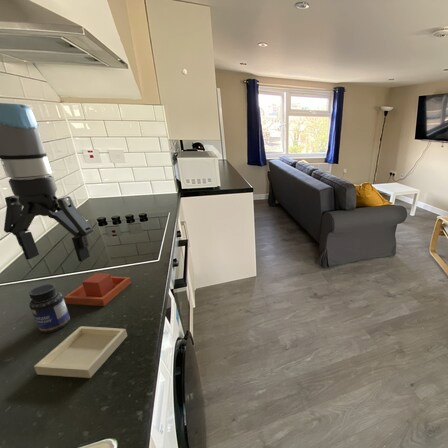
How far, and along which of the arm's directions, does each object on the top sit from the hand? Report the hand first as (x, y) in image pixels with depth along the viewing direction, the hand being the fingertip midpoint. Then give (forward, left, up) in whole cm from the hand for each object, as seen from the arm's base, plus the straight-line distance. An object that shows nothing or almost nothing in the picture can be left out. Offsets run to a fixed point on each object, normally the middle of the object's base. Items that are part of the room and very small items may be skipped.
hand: (58, 258), depth 68 cm
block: (+1, +8, -16) cm, 18 cm away
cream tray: (+15, -14, -16) cm, 26 cm away
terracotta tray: (+1, +8, -16) cm, 18 cm away
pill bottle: (0, -6, -17) cm, 18 cm away
